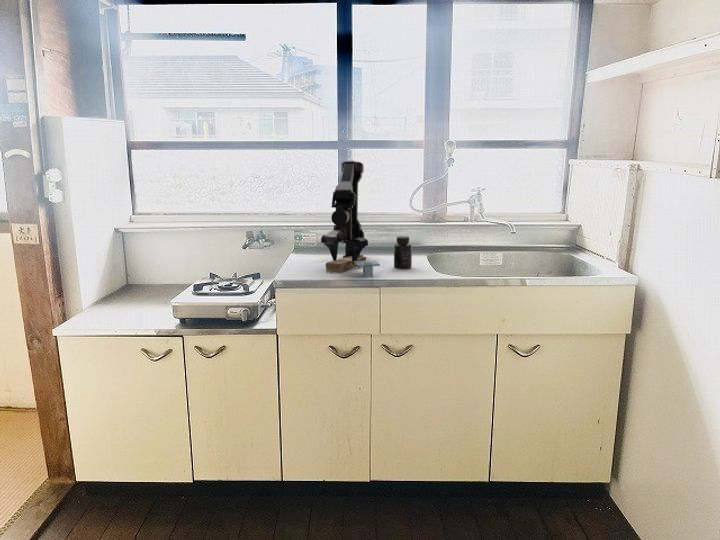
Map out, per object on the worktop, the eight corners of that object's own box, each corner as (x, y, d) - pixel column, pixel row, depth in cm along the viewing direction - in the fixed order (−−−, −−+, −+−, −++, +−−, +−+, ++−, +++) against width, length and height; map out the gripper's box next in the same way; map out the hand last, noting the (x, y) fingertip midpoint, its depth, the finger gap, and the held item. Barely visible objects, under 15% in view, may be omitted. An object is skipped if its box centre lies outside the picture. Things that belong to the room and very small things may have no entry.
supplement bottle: (413, 266, 205) (414, 236, 203) (409, 270, 199) (409, 238, 196) (396, 265, 207) (396, 235, 205) (391, 268, 201) (392, 237, 198)
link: (337, 273, 194) (337, 264, 193) (325, 271, 197) (325, 262, 197) (366, 264, 208) (366, 256, 207) (355, 263, 211) (355, 255, 211)
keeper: (379, 276, 190) (379, 263, 189) (357, 277, 188) (357, 265, 187) (374, 271, 196) (374, 260, 195) (353, 272, 194) (353, 261, 193)
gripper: (310, 222, 197) (311, 263, 200) (350, 226, 186) (350, 269, 189) (330, 219, 205) (330, 258, 209) (368, 223, 195) (368, 264, 198)
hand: (344, 262), depth 201 cm, fingers open, 9 cm apart
